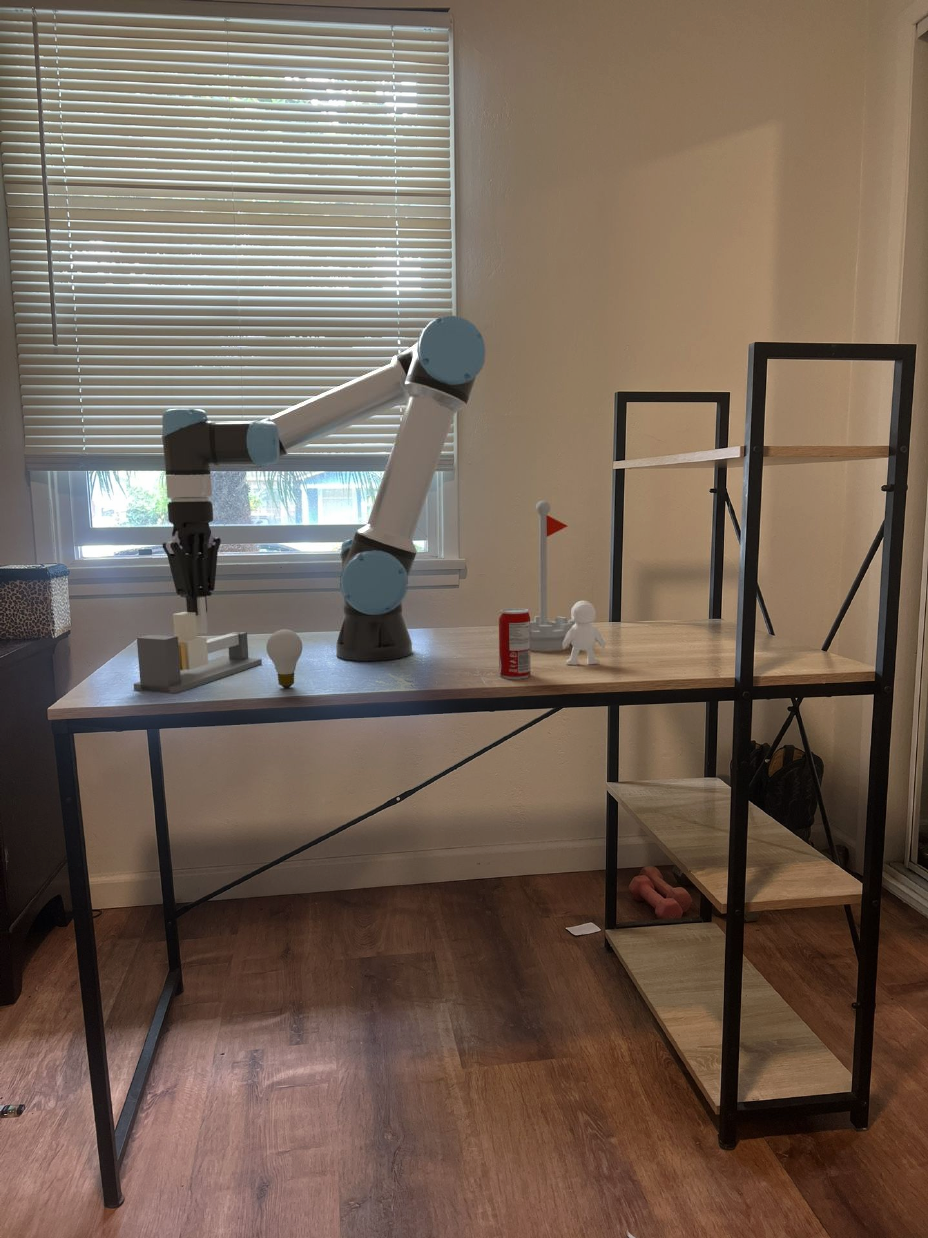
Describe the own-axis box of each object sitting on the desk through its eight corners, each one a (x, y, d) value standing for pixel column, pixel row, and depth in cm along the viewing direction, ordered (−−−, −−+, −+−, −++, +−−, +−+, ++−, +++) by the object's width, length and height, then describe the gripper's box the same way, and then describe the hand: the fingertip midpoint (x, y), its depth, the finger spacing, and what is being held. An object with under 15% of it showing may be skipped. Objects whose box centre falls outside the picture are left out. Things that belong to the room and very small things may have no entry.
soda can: (508, 671, 151) (508, 605, 149) (535, 674, 148) (535, 607, 146) (493, 677, 146) (493, 609, 144) (521, 681, 144) (521, 611, 142)
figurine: (563, 667, 153) (563, 602, 151) (559, 662, 158) (559, 599, 156) (606, 666, 154) (607, 601, 152) (601, 661, 158) (602, 598, 156)
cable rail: (261, 664, 161) (259, 617, 159) (176, 693, 139) (172, 640, 137) (223, 661, 164) (220, 615, 163) (134, 689, 142) (129, 637, 141)
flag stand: (503, 650, 171) (501, 501, 166) (523, 638, 182) (522, 500, 178) (564, 654, 166) (565, 501, 161) (581, 642, 177) (582, 499, 173)
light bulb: (271, 684, 144) (268, 627, 142) (306, 683, 144) (303, 626, 143) (266, 692, 138) (263, 633, 137) (302, 691, 139) (299, 632, 137)
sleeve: (208, 663, 149) (204, 611, 148) (189, 669, 145) (185, 616, 143) (186, 662, 151) (182, 610, 149) (167, 667, 146) (163, 614, 145)
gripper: (196, 499, 154) (205, 626, 157) (146, 501, 142) (156, 638, 146) (230, 499, 151) (238, 627, 155) (181, 500, 139) (191, 640, 143)
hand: (198, 632), depth 150 cm, fingers closed
